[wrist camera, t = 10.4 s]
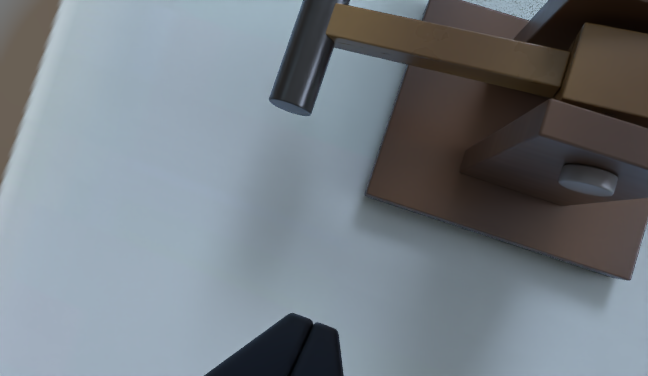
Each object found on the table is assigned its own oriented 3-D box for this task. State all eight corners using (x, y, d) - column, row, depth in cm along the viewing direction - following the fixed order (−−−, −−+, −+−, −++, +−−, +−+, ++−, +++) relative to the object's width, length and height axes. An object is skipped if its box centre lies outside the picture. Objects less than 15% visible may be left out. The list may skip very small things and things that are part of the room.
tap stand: (364, 195, 21) (383, 170, 12) (427, 3, 22) (491, -162, 13) (614, 278, 21) (838, 319, 11) (672, 78, 21) (929, -38, 12)
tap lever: (281, 113, 17) (256, 90, 15) (335, -44, 18) (319, -90, 15) (623, 208, 14) (659, 198, 12) (679, 18, 15) (723, -26, 12)
